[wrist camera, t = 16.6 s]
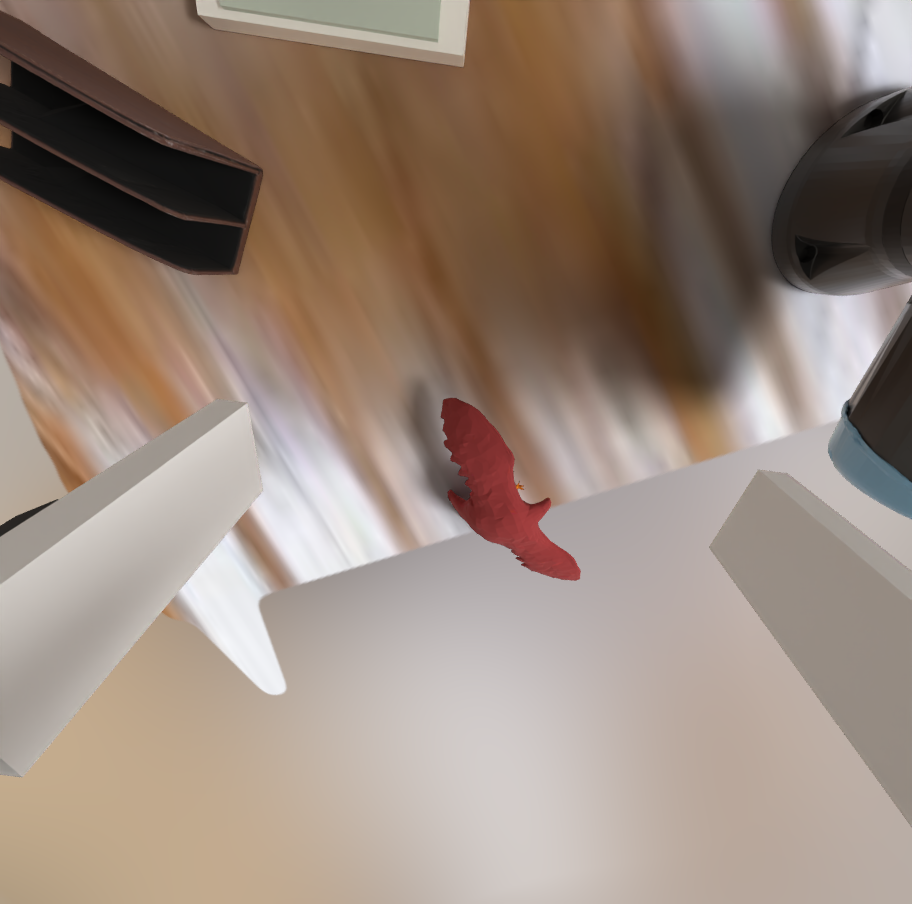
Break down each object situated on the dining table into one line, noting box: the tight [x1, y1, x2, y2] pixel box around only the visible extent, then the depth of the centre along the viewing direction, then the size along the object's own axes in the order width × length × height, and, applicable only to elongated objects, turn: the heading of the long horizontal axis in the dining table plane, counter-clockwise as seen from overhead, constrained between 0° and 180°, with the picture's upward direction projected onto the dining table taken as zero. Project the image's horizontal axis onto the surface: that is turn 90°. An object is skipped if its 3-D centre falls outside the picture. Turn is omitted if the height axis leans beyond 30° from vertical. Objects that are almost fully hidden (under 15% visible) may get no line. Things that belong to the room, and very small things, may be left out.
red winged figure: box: [441, 398, 581, 580], centre depth 45 cm, size 28×9×15 cm
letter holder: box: [0, 11, 263, 275], centre depth 28 cm, size 10×20×14 cm, turn 61°
